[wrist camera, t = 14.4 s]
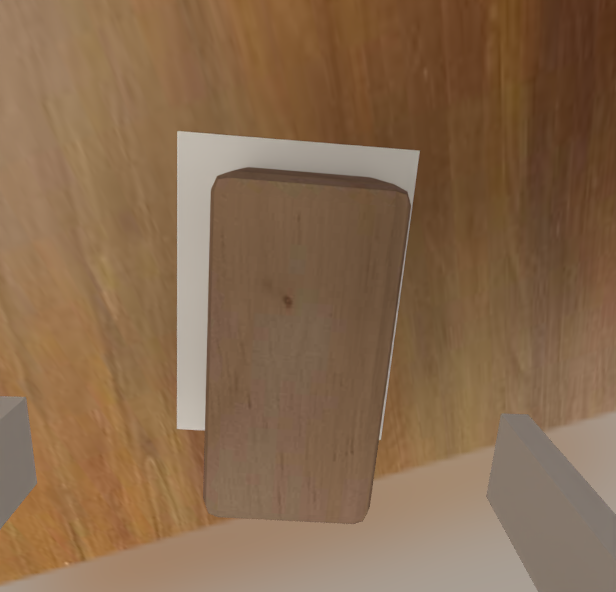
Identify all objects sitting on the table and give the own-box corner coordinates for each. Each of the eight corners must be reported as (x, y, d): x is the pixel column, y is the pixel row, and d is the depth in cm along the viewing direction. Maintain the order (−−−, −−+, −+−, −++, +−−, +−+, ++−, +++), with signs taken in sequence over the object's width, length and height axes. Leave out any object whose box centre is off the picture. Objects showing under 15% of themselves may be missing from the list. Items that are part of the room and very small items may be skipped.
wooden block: (199, 524, 28) (207, 169, 23) (224, 430, 38) (234, 165, 32) (369, 532, 29) (418, 186, 23) (351, 437, 38) (383, 177, 33)
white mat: (418, 150, 33) (419, 150, 32) (380, 437, 39) (380, 439, 38) (178, 131, 32) (177, 131, 31) (178, 425, 38) (177, 428, 38)
